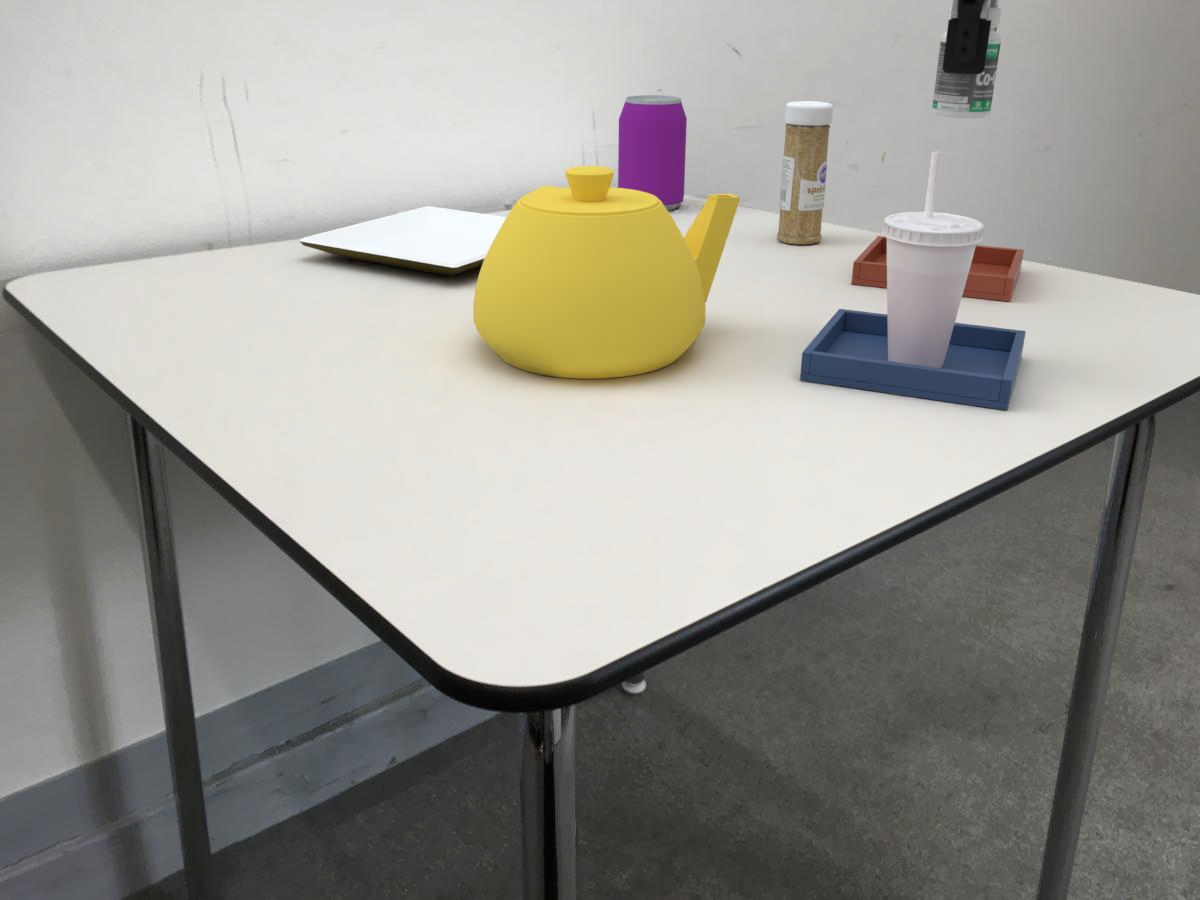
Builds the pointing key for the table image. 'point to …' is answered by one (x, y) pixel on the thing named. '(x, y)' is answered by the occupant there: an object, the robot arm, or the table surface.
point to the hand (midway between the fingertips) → (967, 67)
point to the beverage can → (653, 147)
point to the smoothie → (926, 277)
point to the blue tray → (968, 375)
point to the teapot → (598, 279)
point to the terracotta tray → (985, 280)
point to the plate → (416, 240)
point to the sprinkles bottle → (804, 171)
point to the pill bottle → (968, 81)
